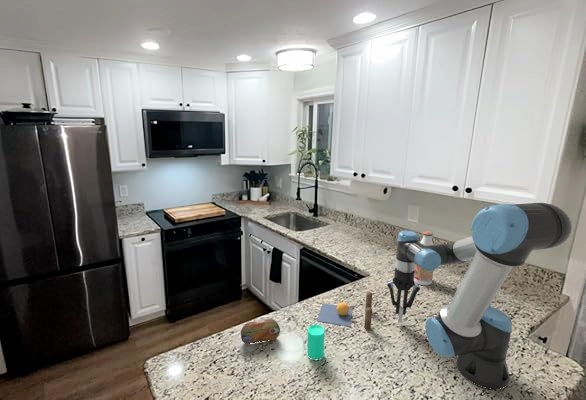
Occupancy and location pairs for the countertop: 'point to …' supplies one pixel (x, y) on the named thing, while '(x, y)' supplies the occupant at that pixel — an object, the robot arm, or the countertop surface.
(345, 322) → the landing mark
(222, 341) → the countertop surface
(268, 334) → the tin
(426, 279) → the fruit juice
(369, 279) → the countertop surface
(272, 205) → the countertop surface
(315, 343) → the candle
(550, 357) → the countertop surface
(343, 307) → the ball
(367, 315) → the post near
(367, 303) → the post far
